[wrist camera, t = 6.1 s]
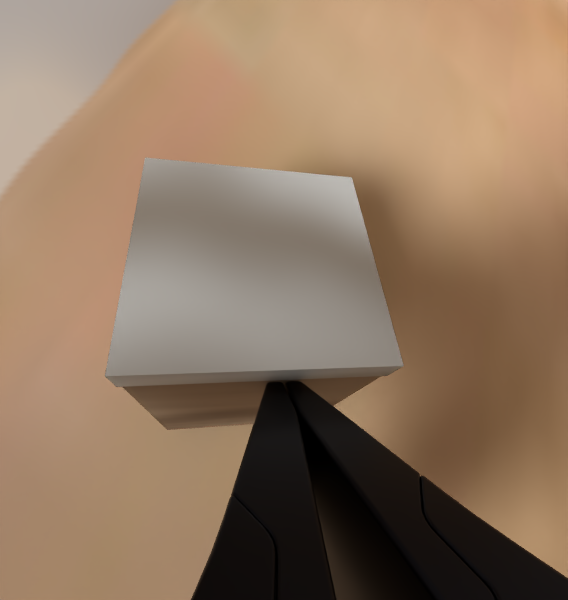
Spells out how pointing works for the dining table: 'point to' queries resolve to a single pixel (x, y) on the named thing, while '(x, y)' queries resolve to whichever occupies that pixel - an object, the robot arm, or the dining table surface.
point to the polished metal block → (246, 293)
